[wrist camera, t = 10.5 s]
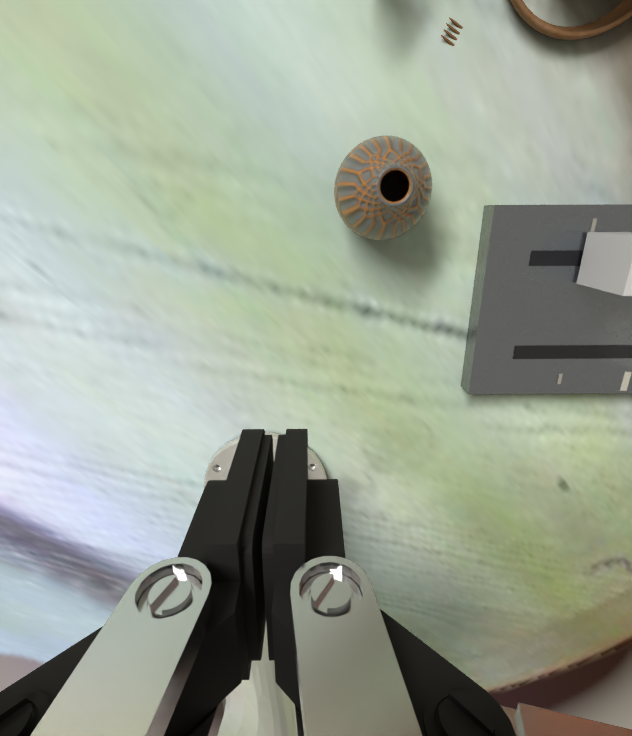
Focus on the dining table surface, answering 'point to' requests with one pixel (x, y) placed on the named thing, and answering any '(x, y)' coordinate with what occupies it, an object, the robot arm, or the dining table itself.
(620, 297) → the console
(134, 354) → the dining table surface
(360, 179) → the vase
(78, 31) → the dining table surface
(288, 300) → the dining table surface
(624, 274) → the grey fader
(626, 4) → the place setting
